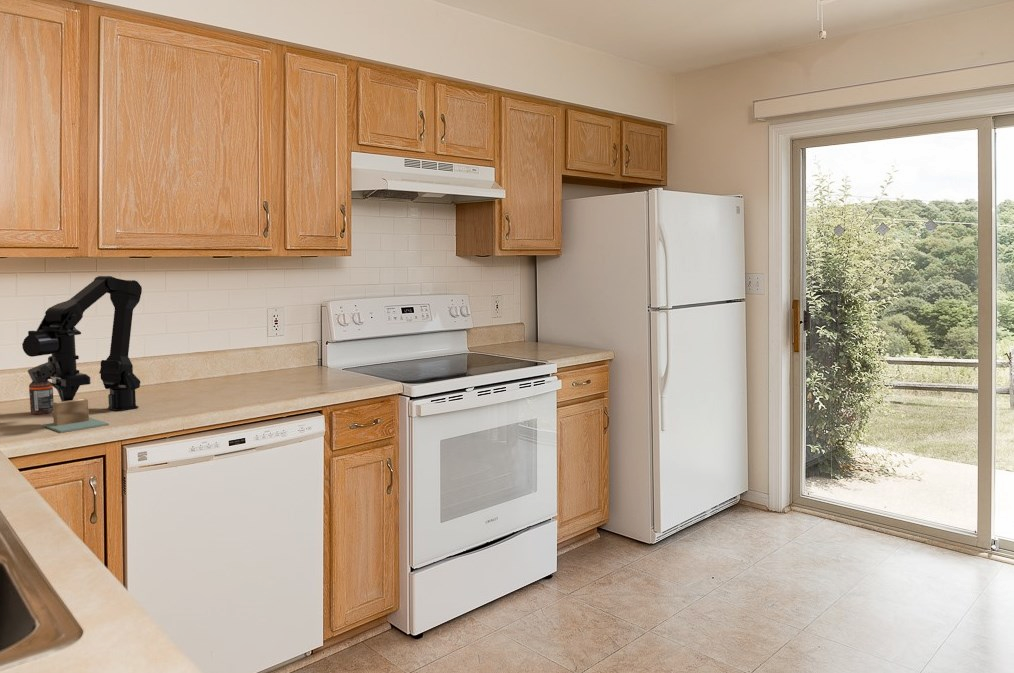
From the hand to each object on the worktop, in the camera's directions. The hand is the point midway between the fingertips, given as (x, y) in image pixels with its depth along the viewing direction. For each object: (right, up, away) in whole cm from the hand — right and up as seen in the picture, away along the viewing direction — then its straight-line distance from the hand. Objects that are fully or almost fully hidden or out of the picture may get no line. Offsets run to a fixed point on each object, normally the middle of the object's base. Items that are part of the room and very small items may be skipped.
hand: (66, 407), depth 203 cm
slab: (+2, -4, -1) cm, 5 cm away
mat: (+4, -5, -3) cm, 7 cm away
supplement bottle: (-16, -3, +14) cm, 21 cm away
